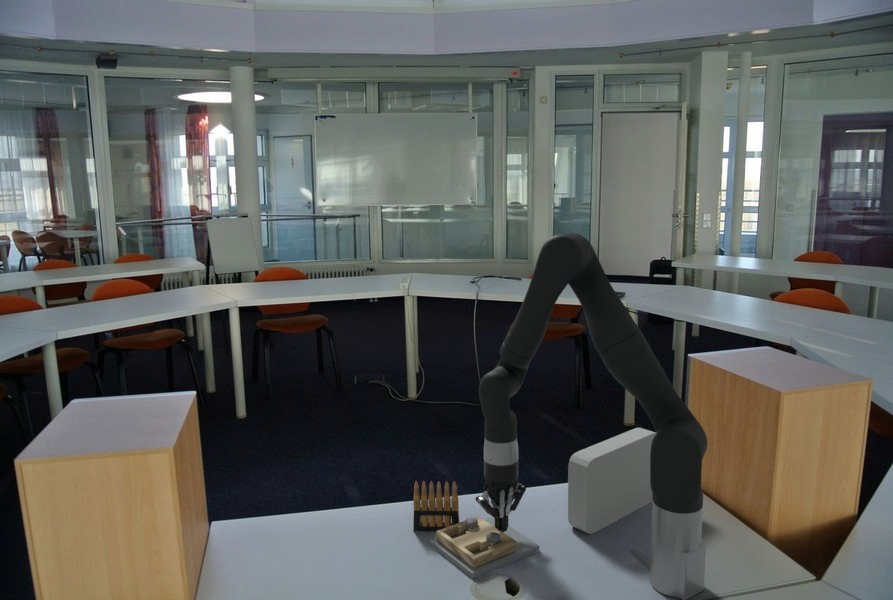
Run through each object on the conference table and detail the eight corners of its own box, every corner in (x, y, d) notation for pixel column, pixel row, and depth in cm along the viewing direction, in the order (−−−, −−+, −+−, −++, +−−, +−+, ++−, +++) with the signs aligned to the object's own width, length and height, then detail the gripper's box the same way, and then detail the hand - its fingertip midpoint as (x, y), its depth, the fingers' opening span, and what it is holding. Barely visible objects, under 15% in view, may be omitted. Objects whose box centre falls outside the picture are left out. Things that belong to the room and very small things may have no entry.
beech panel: (517, 550, 142) (517, 541, 142) (473, 567, 136) (473, 558, 135) (478, 524, 153) (478, 515, 153) (436, 539, 147) (436, 530, 147)
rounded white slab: (633, 488, 173) (634, 422, 170) (659, 498, 167) (660, 430, 164) (559, 525, 155) (560, 452, 152) (585, 538, 149) (586, 462, 146)
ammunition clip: (413, 531, 154) (411, 482, 152) (414, 527, 156) (412, 479, 154) (459, 531, 153) (458, 482, 151) (459, 527, 155) (458, 479, 153)
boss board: (539, 550, 144) (539, 530, 144) (472, 578, 134) (472, 556, 134) (494, 521, 157) (493, 502, 157) (430, 545, 148) (429, 525, 147)
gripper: (487, 470, 139) (488, 547, 142) (535, 455, 146) (535, 528, 149) (466, 458, 145) (467, 532, 148) (513, 444, 152) (513, 515, 155)
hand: (501, 530), depth 148 cm, fingers closed
